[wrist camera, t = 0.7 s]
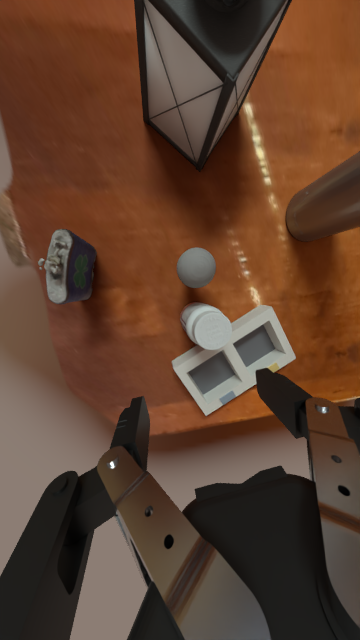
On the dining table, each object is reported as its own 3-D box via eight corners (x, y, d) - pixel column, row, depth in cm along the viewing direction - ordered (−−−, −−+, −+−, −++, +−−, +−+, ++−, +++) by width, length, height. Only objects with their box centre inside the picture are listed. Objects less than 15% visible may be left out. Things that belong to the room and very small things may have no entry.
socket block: (260, 304, 35) (272, 306, 31) (283, 351, 38) (297, 358, 34) (171, 361, 35) (173, 369, 31) (201, 404, 38) (206, 417, 34)
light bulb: (203, 286, 33) (222, 285, 23) (174, 288, 32) (181, 290, 23) (200, 255, 32) (220, 241, 22) (171, 258, 31) (177, 245, 22)
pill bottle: (210, 332, 35) (235, 353, 24) (179, 333, 34) (190, 355, 23) (211, 301, 34) (238, 308, 23) (179, 301, 33) (191, 309, 22)
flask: (91, 300, 31) (58, 307, 20) (73, 297, 30) (30, 302, 20) (98, 246, 29) (66, 224, 19) (79, 242, 29) (36, 216, 19)
